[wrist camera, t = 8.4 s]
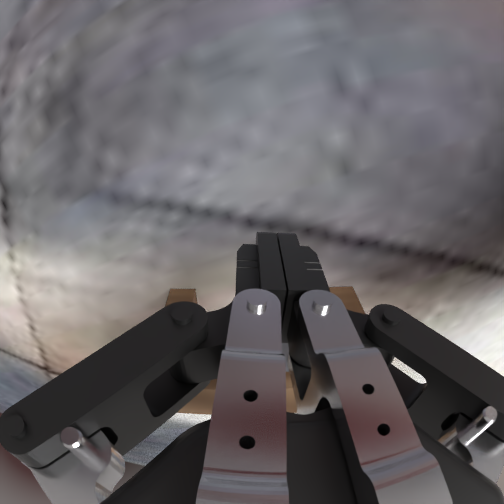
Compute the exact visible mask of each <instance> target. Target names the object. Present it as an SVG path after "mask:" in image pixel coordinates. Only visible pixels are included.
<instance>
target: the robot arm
mask: <svg viewBox="0 0 504 504" xmlns="http://www.w3.org/2000/svg"><path fill="white" fill-rule="evenodd" d="M282 343H288V346H289V352H288V357H287V364H288V369H289V373H290V378H291V382H292V387H293V391H294V396H295V400H296V405H297V414H296V413H290V412H286V364H285V355H284V354H282ZM394 357H396V358H397V359H399V360H400V361H402V362H403V363H405V364H406V365H408V366H409V367H410V368H412V369H413V370H415V371H416V372H418V373H419V374H421V375H422V376H423V377H424V378H425V379H426V382H427V383H424V384H421V383H418V382H416V381H415V380H413V379H412V378H410V377H409V376H408V375H406V374H405V373H403V372H402V371H400V370H399V369H398V368H396V367H395V366H393V365H392V364H391V363H392V361H393V359H394ZM213 379H217V384H216V390H215V396H214V402H213V409H212V415H211V419H210V420H207V421H204V422H202V423H199V424H197V425H195V426H193V427H191V428H189V429H188V430H186V431H185V432H183V433H182V434H181V435H179V436H178V437H177V438H176V439H175V440H174V441H173V442H172V443H171V444H170V445H168V446H167V447H166V448H165V449H164V450H163V451H162V452H161V453H160V454H158V455H157V456H156V457H155V458H154V459H153V460H152V461H151V462H149V463H148V464H147V465H146V466H145V467H144V468H143V469H141V470H140V471H139V472H138V473H137V474H135V475H134V476H133V477H132V478H131V479H129V480H128V481H127V482H126V483H125V484H123V485H122V486H121V487H120V488H119V489H117V490H116V491H115V492H114V493H112V490H113V487H114V486H115V484H117V482H118V481H119V480H120V479H121V478H122V476H123V474H124V471H125V463H124V459H123V457H122V456H123V455H124V454H126V453H127V452H128V451H130V450H131V449H132V448H133V447H135V446H136V445H137V444H139V443H140V442H141V441H142V440H144V439H145V438H146V437H147V436H149V435H150V434H151V433H152V432H154V431H155V430H156V429H157V428H159V427H160V426H161V425H162V424H163V423H165V422H166V421H167V420H168V419H170V418H171V417H172V416H173V415H174V414H176V413H177V412H178V411H179V410H180V409H181V408H183V407H184V406H185V405H186V404H187V403H188V402H190V401H191V400H192V399H193V398H194V397H195V396H197V395H198V394H199V393H200V392H201V391H202V390H203V389H205V388H206V387H207V386H208V385H209V383H210V381H211V380H213ZM0 443H1V445H2V446H3V447H4V448H5V449H6V450H7V451H9V452H10V453H11V454H12V455H14V456H15V457H16V458H18V459H19V460H20V461H21V462H22V463H23V464H24V465H26V466H27V467H28V468H29V469H30V470H31V471H32V473H33V475H34V476H35V478H36V479H37V481H38V483H39V484H40V486H41V487H42V489H43V490H44V492H45V494H46V495H47V497H48V498H49V499H50V501H51V502H52V504H504V496H503V494H502V492H501V490H500V488H499V487H498V486H497V484H496V483H497V481H498V479H499V476H500V474H501V471H502V469H503V466H504V377H503V376H502V375H500V374H499V373H497V372H496V371H495V370H493V369H492V368H490V367H489V366H487V365H486V364H484V363H483V362H481V361H480V360H478V359H477V358H475V357H474V356H472V355H471V354H469V353H468V352H466V351H465V350H463V349H462V348H460V347H459V346H457V345H456V344H454V343H453V342H451V341H449V340H448V339H446V338H445V337H443V336H442V335H440V334H439V333H437V332H436V331H434V330H432V329H431V328H429V327H428V326H426V325H425V324H423V323H422V322H420V321H418V320H417V319H415V318H414V317H412V316H411V315H409V314H407V313H406V312H404V311H403V310H401V309H399V308H397V307H395V306H392V305H387V304H381V305H377V306H375V307H374V308H372V310H371V311H370V314H369V315H367V314H363V313H358V312H354V311H350V310H348V309H346V308H345V306H344V304H343V302H342V300H341V299H340V298H339V297H338V296H336V295H335V294H333V293H331V292H330V290H329V287H328V284H327V281H326V278H325V276H324V273H323V270H322V267H321V265H320V264H319V259H318V257H317V254H316V253H315V252H314V251H313V250H312V249H311V248H310V247H308V246H300V245H299V242H298V239H297V235H296V234H294V233H277V234H276V233H268V232H257V235H256V245H253V244H243V245H242V246H241V247H240V248H239V250H238V251H237V270H236V294H235V297H234V299H233V301H232V302H231V303H230V304H229V305H228V306H226V307H224V308H222V309H219V310H216V311H211V312H206V311H205V309H204V308H203V307H201V306H200V305H198V304H196V303H193V302H188V301H180V302H175V303H172V304H169V305H167V306H166V307H164V308H163V309H161V310H160V311H158V312H156V313H155V314H153V315H152V316H150V317H149V318H147V319H146V320H144V321H142V322H141V323H139V324H138V325H136V326H135V327H133V328H132V329H130V330H129V331H127V332H125V333H124V334H122V335H121V336H119V337H118V338H116V339H115V340H113V341H112V342H110V343H108V344H107V345H105V346H104V347H102V348H101V349H99V350H98V351H96V352H95V353H93V354H91V355H90V356H88V357H87V358H85V359H84V360H82V361H81V362H79V363H78V364H76V365H74V366H73V367H71V368H70V369H68V370H67V371H65V372H64V373H62V374H61V375H59V376H57V377H56V378H54V379H53V380H51V381H50V382H48V383H47V384H45V385H44V386H42V387H40V388H39V389H37V390H36V391H34V392H33V393H31V394H30V395H28V396H27V397H25V398H23V399H22V400H20V401H19V402H17V403H16V404H14V405H13V406H11V407H10V408H8V409H7V410H6V411H5V412H4V413H3V414H2V416H1V417H0ZM111 493H112V494H111Z"/></svg>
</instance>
